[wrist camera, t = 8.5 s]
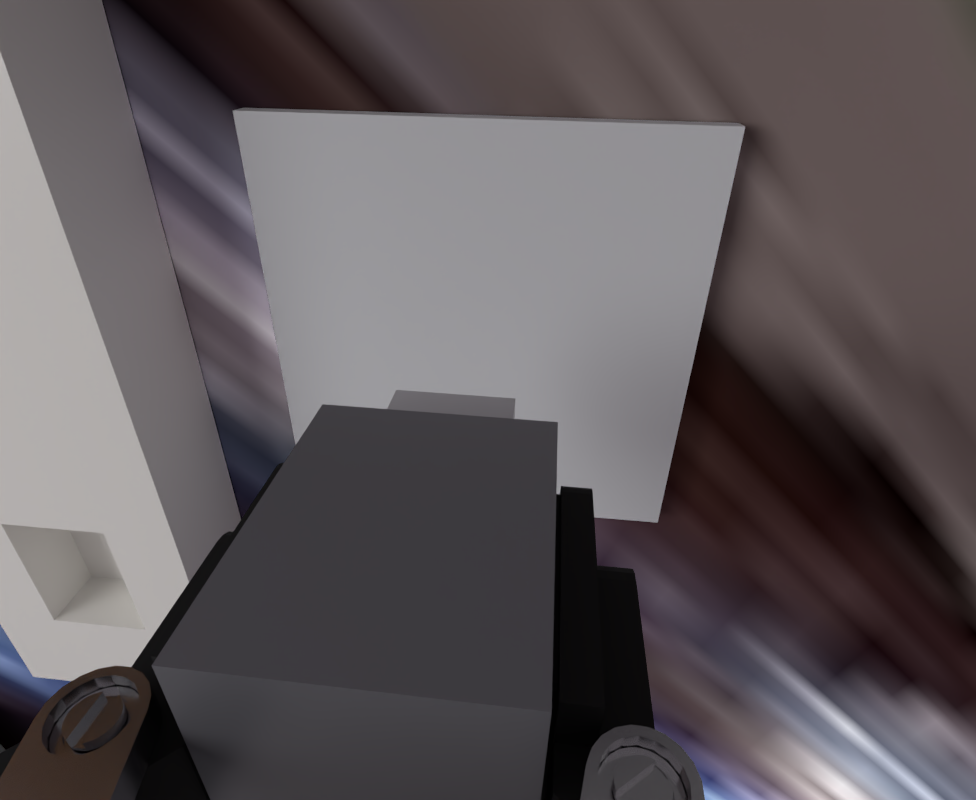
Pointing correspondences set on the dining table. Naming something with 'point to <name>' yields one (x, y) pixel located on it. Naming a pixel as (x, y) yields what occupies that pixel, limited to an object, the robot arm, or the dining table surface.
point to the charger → (381, 614)
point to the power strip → (91, 362)
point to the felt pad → (496, 270)
